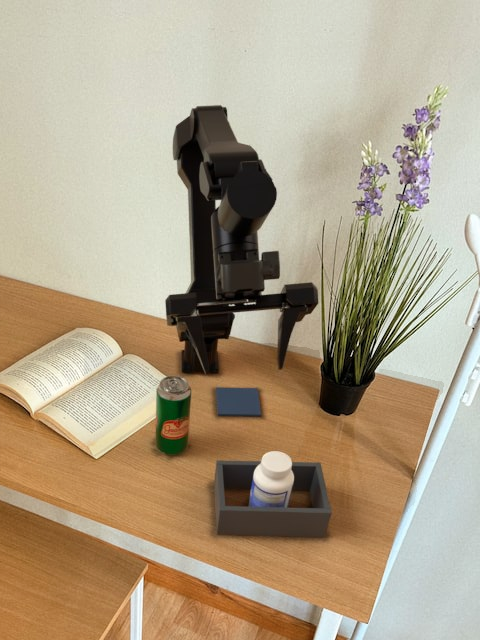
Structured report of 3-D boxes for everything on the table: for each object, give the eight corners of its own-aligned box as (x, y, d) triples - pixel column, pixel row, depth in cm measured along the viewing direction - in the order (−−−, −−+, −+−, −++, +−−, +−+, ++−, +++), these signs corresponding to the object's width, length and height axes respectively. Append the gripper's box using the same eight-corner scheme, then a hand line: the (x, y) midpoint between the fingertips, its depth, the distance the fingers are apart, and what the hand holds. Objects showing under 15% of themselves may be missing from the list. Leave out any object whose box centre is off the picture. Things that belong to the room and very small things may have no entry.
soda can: (161, 460, 106) (162, 398, 97) (151, 439, 109) (152, 377, 101) (192, 453, 107) (196, 391, 98) (181, 432, 110) (184, 371, 102)
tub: (213, 484, 102) (216, 460, 98) (314, 487, 101) (320, 462, 98) (216, 534, 95) (219, 510, 92) (324, 537, 94) (331, 513, 91)
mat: (215, 389, 118) (216, 387, 117) (257, 390, 117) (257, 388, 117) (217, 416, 113) (218, 413, 113) (261, 416, 113) (261, 414, 112)
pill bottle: (260, 490, 101) (269, 441, 94) (293, 507, 98) (305, 457, 91) (240, 512, 98) (248, 462, 91) (273, 530, 95) (284, 480, 89)
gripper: (160, 234, 81) (168, 366, 81) (322, 218, 80) (332, 354, 79) (163, 265, 92) (170, 381, 92) (306, 251, 91) (314, 370, 90)
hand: (243, 372), depth 88 cm, fingers open, 9 cm apart
